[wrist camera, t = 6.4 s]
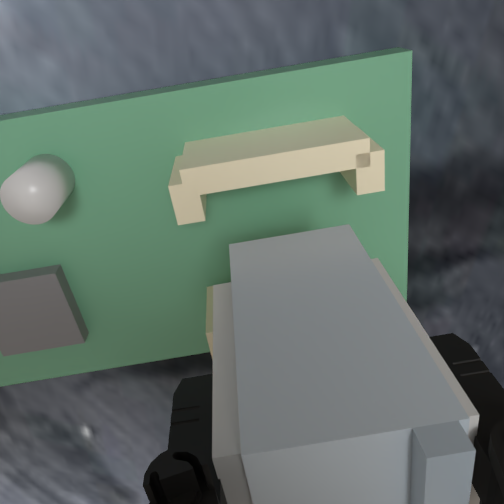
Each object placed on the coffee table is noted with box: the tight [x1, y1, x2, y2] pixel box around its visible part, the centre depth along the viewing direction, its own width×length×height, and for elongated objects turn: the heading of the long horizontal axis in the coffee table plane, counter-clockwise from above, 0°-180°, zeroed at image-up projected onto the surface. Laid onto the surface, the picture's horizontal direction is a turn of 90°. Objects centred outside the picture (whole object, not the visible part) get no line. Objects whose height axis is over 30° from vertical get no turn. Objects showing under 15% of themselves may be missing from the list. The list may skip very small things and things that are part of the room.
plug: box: [229, 224, 476, 504], centre depth 12 cm, size 5×4×9 cm
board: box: [0, 47, 412, 387], centre depth 19 cm, size 13×24×6 cm, turn 99°
